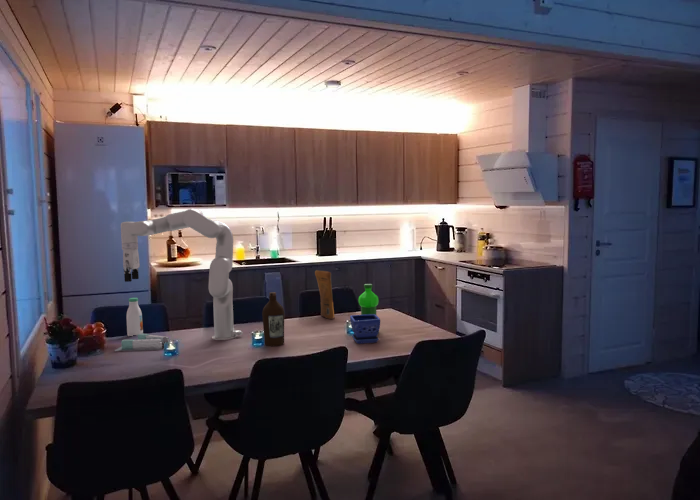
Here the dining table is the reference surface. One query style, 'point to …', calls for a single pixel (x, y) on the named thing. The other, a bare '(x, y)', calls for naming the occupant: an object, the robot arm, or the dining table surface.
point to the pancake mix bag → (325, 293)
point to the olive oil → (273, 322)
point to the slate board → (141, 349)
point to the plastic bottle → (368, 301)
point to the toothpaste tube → (150, 337)
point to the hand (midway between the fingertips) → (131, 280)
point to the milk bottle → (134, 318)
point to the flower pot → (365, 328)
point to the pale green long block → (143, 344)
